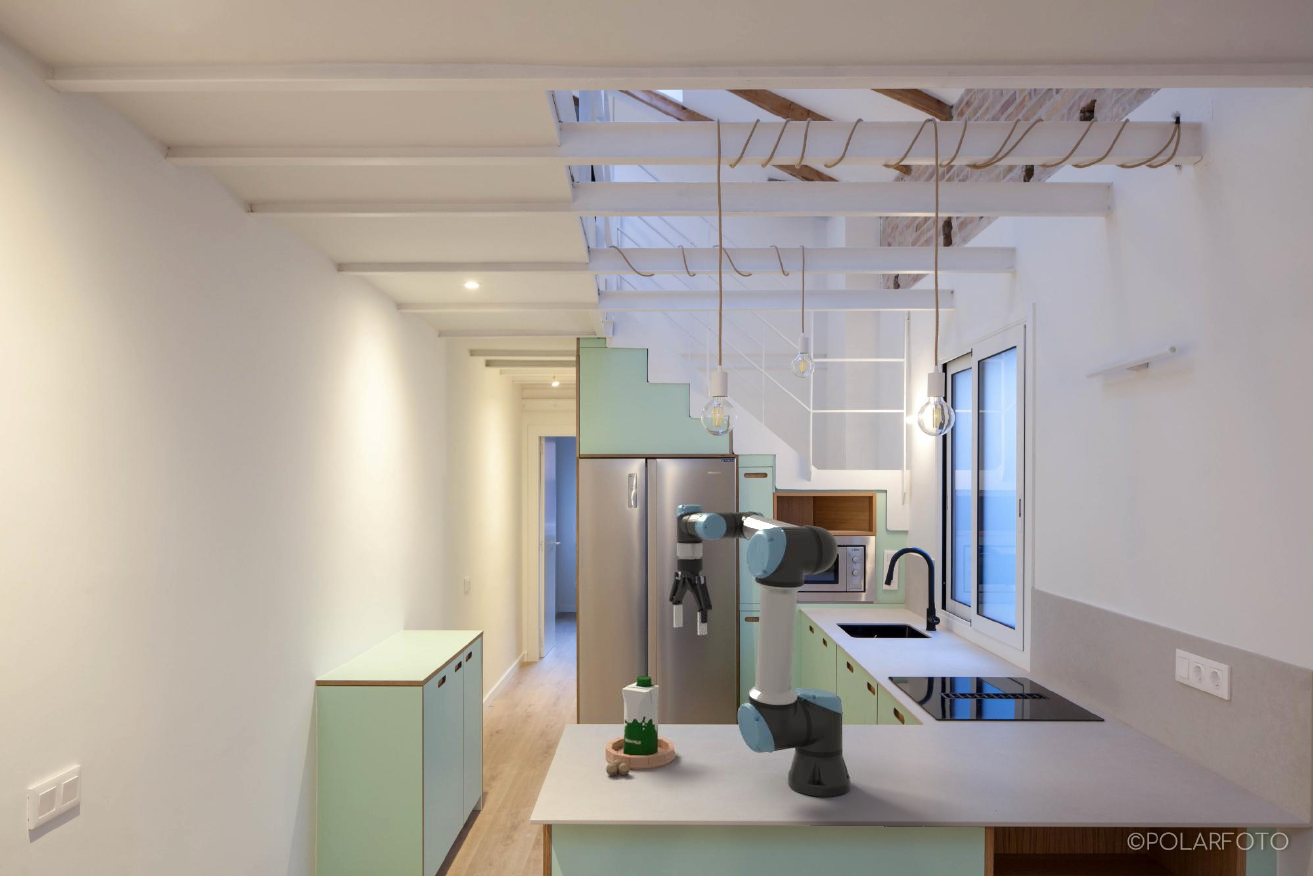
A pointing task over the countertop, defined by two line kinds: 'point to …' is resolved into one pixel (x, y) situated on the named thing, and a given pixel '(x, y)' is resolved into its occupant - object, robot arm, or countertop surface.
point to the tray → (641, 762)
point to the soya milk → (641, 717)
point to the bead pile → (617, 768)
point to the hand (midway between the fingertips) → (689, 630)
